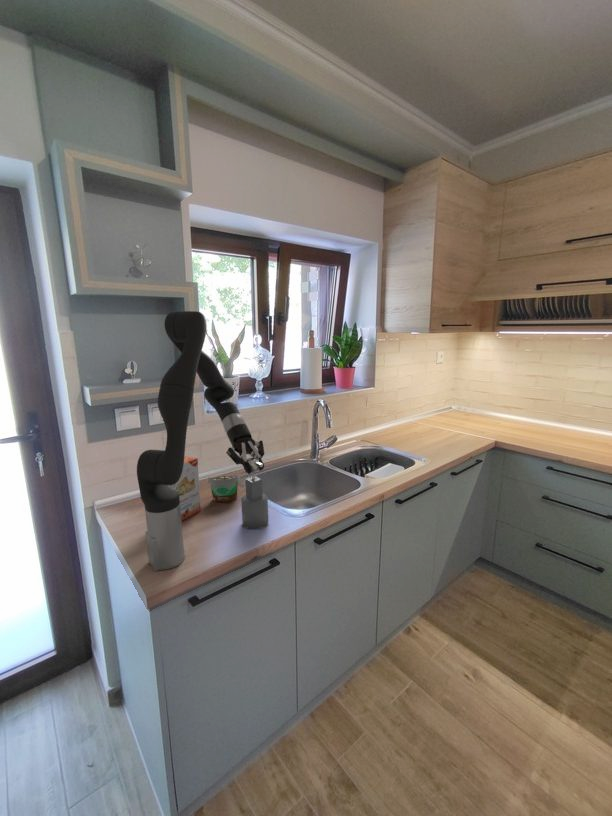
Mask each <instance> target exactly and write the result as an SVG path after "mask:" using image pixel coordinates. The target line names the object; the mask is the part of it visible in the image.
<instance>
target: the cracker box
mask: <svg viewBox="0 0 612 816" xmlns="http://www.w3.org/2000/svg"><path fill="white" fill-rule="evenodd" d="M198 459H199V458H198V457H194V456H188V455H186V456H184V465H183V471H182V474H181V477H180V479H179V481H178V482H177V483H176V484H174V485H167V486H168V487H170V488H171V489H173V490H175V491H176V492H177V493H178V494H179V498H180V509H181V520H182V522H183V521H184V520H186V519H188V518H190V517H192V516H193V515H195V514H197V513H199V512H200V511H201V496H200V495H201V494H200V491H201V490H200V477H199V476H200V475H199V463H198V462H199V460H198Z"/></svg>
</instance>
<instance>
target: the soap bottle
mask: <svg viewBox="0 0 612 816" xmlns="http://www.w3.org/2000/svg"><path fill="white" fill-rule="evenodd" d="M268 498H269V497H268V496H267V495H266V493H263V480H262V478H260V477H258V476H256V475H255V480H252V476H251V477H248V478H245V495H243V496H242V497H241V498H240V502H241V504H240V505H241V518H242V519H241V521H242V523H241V525H242V526H243V527H244V528H245V529H248V530H259V529H262V527H263V528H265V527H266V526H267V525H268V524H269V502H268ZM264 526H265V527H264Z"/></svg>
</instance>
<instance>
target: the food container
mask: <svg viewBox="0 0 612 816" xmlns="http://www.w3.org/2000/svg"><path fill="white" fill-rule="evenodd" d="M240 478H241V477H240V474H237V475H236V474H234V475H222V476H219V477H212V478H211V477H210V476H208V480H207V483H208V484H209V486H210V490H211V491H210V492H211V495H212V500H213V502H214V503H215V504H219V505H223V504H230V503H234V501H236V500H237V499H238V486H239V484H238V483H239V481H240Z"/></svg>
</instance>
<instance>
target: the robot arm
mask: <svg viewBox="0 0 612 816" xmlns="http://www.w3.org/2000/svg"><path fill="white" fill-rule="evenodd" d="M207 326H208V325H207V319H206V317H205V315H204V314H203V313H202V312H201V311H197V310H196V311H195V310H194V311H193V310H192V311H191V310H189V311H187V310H185V311H184V310H183V311H182V310H181V311H178V310H177V311H170V312H169V313H168V314H167V315H166V316H165V318H164V330H165V332H166V335H167V337H168V339H169V340H170V341H171V342H172V343H173V345H174V346H175V347H176V348H177V350H179V352H180V355H179V357H178V358H177V359H176V360H175V362H174V363H173V364H171V366H170V367H169V368H168V370H167V371H166V372H165V374H164V375H163V377H162V379H161V381H160V386H159V391H158V396H157V406H158V407H157V408H158V410H159V414H160V416H161V418H162V421H163V423H164V425H165V430H166V443H165V447H164V448H165V449H164V450H162V449H147V450H144V451H143V452H142V453H141V454H140V455H139V457H138V459H137V464H136V477H137V483H138V489H139V495H140V499H141V501H142V503H143V504H144V512H145V519H146V520H145V521H146V529H147V531H145V542H146V550H147V551H146V552H147V559H148V563H149V565H150V566H151V568H152V570H154V572H158V571H165V570H170V569H173V568H176V567H177V566H179V565H180V564H182V563H183V562H184V560H185V559H186V558H185V557H186V554H185V547H184V544H185V543H184V535H183V523H182V522H183V521H182V520H181V509H180V498H179V494H178V493H177V492H176V491H175V490H173V489H171V488H170V487H168V486H167V485H174V484H176V483H177V482H178V481H179V479H180V477H181V474H182V471H183V465H184V457H185V455H186V453H185V451H186V443H187V442H186V439H187V431H188V425H189V418H190V413H191V407H192V403H193V397H194V391H195V385H196V384H195V383H196V378H197V376H198V377H199V379H200V381H201V383H202V385H203V386H204V387H205V389H204V393H203V395H204V396H203V397H204V398H205V400H206V402H207V403H208V404H209V405H211V407H212V408H213V409H214V410H215V411H216V413H217V414H218V416H219V418H220V421H221V423H222V426H223V429H224V432H225V434H226V436H227V438H228V440H229V442H230V444H231V447H228V449H227V450H226V454H227V456H228V457H229V458H230V459H231V461H232V462H234V463H235V464H236V465H237V466H238V465H242V467H243V469H244V471H245V473H247V474H248V475H249V474H251V475H252V469H251V467H250V465H249V462H248V461H247V459H248V458H247V455H249V456H250V458H258V459H259V462H260V463H262V464H263V467H259V470H258V471H260V472H261V471H263V470H264V468H265V464H264V462H263V460H262V458H263V457H264V456H265V447H264V443H263V440H259V441H256V440H255V439H254V438H253V436H252V434H251V433H252V432H250V429H249V428H248V426H247V423H246V422H245V419H244V418H243V417H242V415H241V413H240V410H239V408H238V406H237V405H236V404H235V402H233V401H228V400H229V399H231V398H232V397H233V396H234V394H235V390H234V388H233V386H232V384H231V383H230V382H229V381H228V380H227V379H226V378H225V377H224V376H223V375H222V373H221V371H220V370H219V368H218V366H217V364H216V362H215V360H213V358H212V357H210V355H208V354H207V353H206V352H204V351H203V347H204V343H205V340H206V337H207V336H206V335H207ZM196 375H197V376H196Z"/></svg>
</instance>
